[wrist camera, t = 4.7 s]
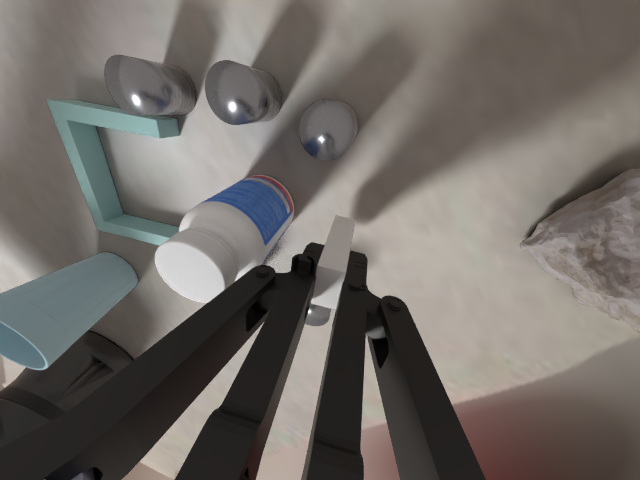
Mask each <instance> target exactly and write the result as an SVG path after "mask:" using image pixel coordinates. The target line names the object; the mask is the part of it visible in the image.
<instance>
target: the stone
mask: <svg viewBox="0 0 640 480" xmlns="http://www.w3.org/2000/svg"><path fill="white" fill-rule="evenodd" d="M520 249H522V250H529V252H530V253H531V254H532V255H533V256H534V257H535V258H536V260H537V262H538V263H539V264H540V266H541V267H542V269H543V270H544V271H545V272H547V273H550V274H552V275H554V276H555V277H556V279H558V280H561V281H564V282H567V283H568V284H570V285H571V286H572V288H573V296H574V298H575V299H576V300H577V301H578V302H580V303H582V304H583V305H586V306H588V307H591V308H596V309H598V310H599V311H602V312H604V313H606V314H608V316H609V317H610V318H613V319H616V320H621V321H623V322H625V323H626V324H628V325H630V326H631V327H632V329H633V330H635V331H637V332H639V333H640V169H639V168H636V169H629V170H627V171H625V172H623V173H621V174H620V175H618V176H617V177H615V178H614V179H612V180H611V181H609V182H608V183H607V184H605V185H604V186H603V187H602V188H599V189H596V190H594V191H591V192H589V193H587V194H585V195H583V196H580V197H579V198H578V199H576V200H574V201H572V202H569V203H568V204H567V205H565V206H564V207H562V208H561V209H559V210H557V211H556V212H555V213H553V214H552V215H550V216H549V217H547V218H545V219H544V220H542V221H541V222H539V223H538V225H537V227H536V230H535V231H534V233H533V234H532V236H531V237H529V238H527V239H525V240H523V241H522V243H520Z"/></svg>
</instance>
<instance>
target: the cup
mask: <svg viewBox="0 0 640 480" xmlns="http://www.w3.org/2000/svg"><path fill="white" fill-rule="evenodd" d="M137 283H138V278H137V275H136V273H135V271H134V269H133V268H132V267H131V266H130V264H128V263H127V262H126V261H125V260H124V259H122V258H121V257H119V256H117V255H115V254H113V253H109V252H103V253H99V254H96V255H94V256H91V257H89V258H86V259H84V260H82V261H79V262H77V263H74V264H72V265H69V266H67V267H64V268H62V269H59V270H57V271H55V272H52V273H50V274H47V275H45V276H42V277H40V278H37V279H35V280H32V281H30V282H28V283H25V284H23V285H20V286H18V287H15V288H13V289H10V290H8V291H6V292H3V293H1V294H0V355H2V356H3V357H5V358H7V359H9V360H11V361H13V362H15V363H17V364H19V365H22V366H24V367H27V368H31V369H35V370H44V369H46V368H48V367H49V366H50V365H51V364H52V363H53V362H54V361H55V360H57V359H58V358H59V357H60V356H61V355H62V354H63V353H64V352H65V351H66V350H67V349H68V348H69V347H70V346H71V345H72V344H73V343H74V342H76V341H77V340H78V339H79V338H80V337H81V336H82V335H83V334H84V333H85V332H86V331H88V330H89V329H90V328H91V327H92V326H93V325H94V324H95V323H96V322H97V321H99V320H100V319H101V318H102V317H103V316H104V315H105V314H106V313H107V312H108V311H109V310H111V309H112V308H113V307H114V306H115V305H116V304H117V303H118V302H119V301H120V300H121V299H123V298H124V297H125V296H126V295H127V294H128V293H129V292H130V291H131V290H132V289H133V288H134V287H135V286H136V285H137Z"/></svg>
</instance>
